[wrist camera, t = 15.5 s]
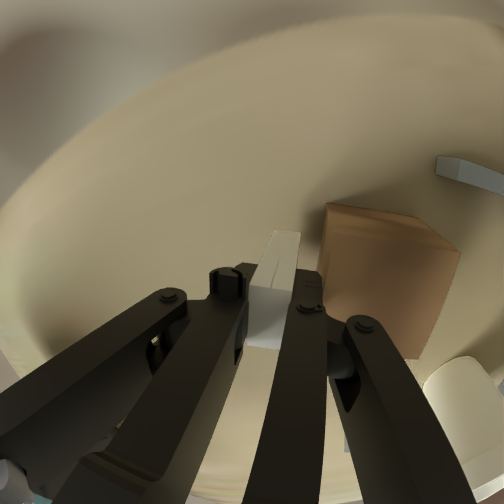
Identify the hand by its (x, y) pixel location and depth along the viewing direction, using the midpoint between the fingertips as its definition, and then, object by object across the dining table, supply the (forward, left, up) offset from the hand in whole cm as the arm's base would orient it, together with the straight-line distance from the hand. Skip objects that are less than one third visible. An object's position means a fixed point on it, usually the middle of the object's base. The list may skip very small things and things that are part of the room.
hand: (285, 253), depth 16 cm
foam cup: (+18, -11, -2) cm, 21 cm away
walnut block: (+5, 0, -2) cm, 5 cm away
